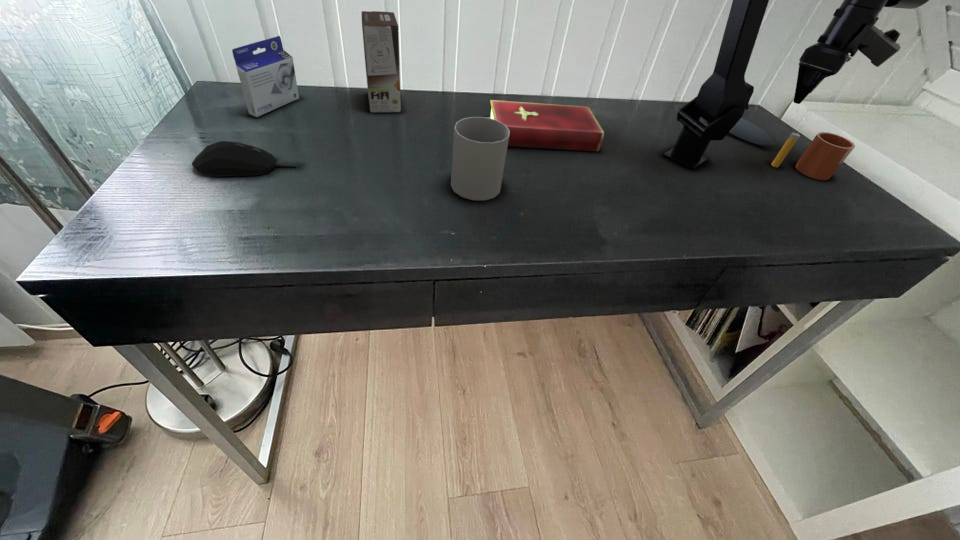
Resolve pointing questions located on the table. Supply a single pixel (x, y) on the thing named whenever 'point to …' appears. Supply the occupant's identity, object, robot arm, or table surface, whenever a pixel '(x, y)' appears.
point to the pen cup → (824, 155)
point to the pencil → (785, 149)
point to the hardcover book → (548, 125)
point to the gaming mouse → (235, 160)
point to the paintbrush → (750, 133)
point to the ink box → (266, 76)
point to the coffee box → (382, 60)
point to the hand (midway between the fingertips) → (802, 97)
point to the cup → (479, 157)
